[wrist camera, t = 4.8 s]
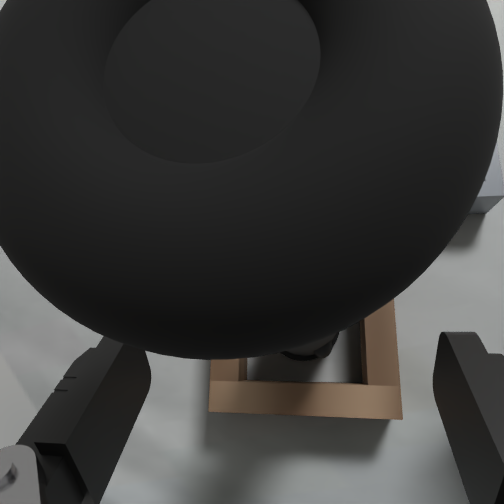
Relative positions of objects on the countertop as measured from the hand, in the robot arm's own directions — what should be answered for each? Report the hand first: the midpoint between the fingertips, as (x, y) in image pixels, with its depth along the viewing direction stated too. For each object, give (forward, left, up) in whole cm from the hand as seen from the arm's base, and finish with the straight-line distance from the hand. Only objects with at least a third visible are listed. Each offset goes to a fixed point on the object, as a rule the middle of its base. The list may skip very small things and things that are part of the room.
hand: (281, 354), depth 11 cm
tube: (0, -3, -17) cm, 17 cm away
